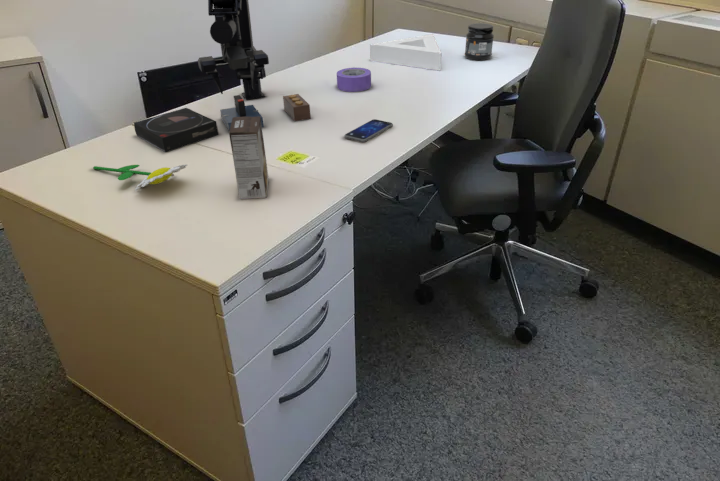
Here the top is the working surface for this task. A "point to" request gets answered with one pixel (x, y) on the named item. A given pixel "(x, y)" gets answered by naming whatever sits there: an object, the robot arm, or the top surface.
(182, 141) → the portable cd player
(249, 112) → the dial panel
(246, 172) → the coffee box
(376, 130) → the smartphone
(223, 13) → the robot arm
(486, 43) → the supplement container
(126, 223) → the top surface
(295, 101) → the token holder
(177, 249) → the top surface
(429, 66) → the triangle block
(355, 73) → the tape roll
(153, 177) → the decorative flower
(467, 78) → the top surface
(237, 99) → the black block red tip
